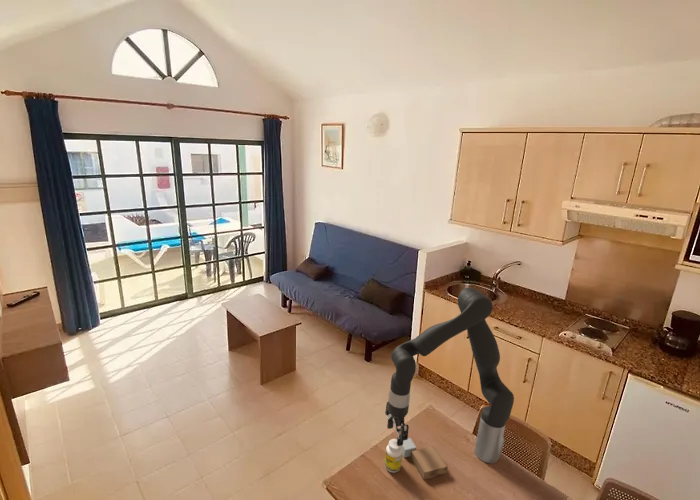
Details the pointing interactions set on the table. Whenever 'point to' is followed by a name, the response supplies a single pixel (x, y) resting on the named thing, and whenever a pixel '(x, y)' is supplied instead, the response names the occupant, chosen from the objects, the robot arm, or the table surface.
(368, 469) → the table surface
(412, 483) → the table surface
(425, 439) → the table surface
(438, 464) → the walnut block
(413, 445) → the slate block
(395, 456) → the pill bottle
